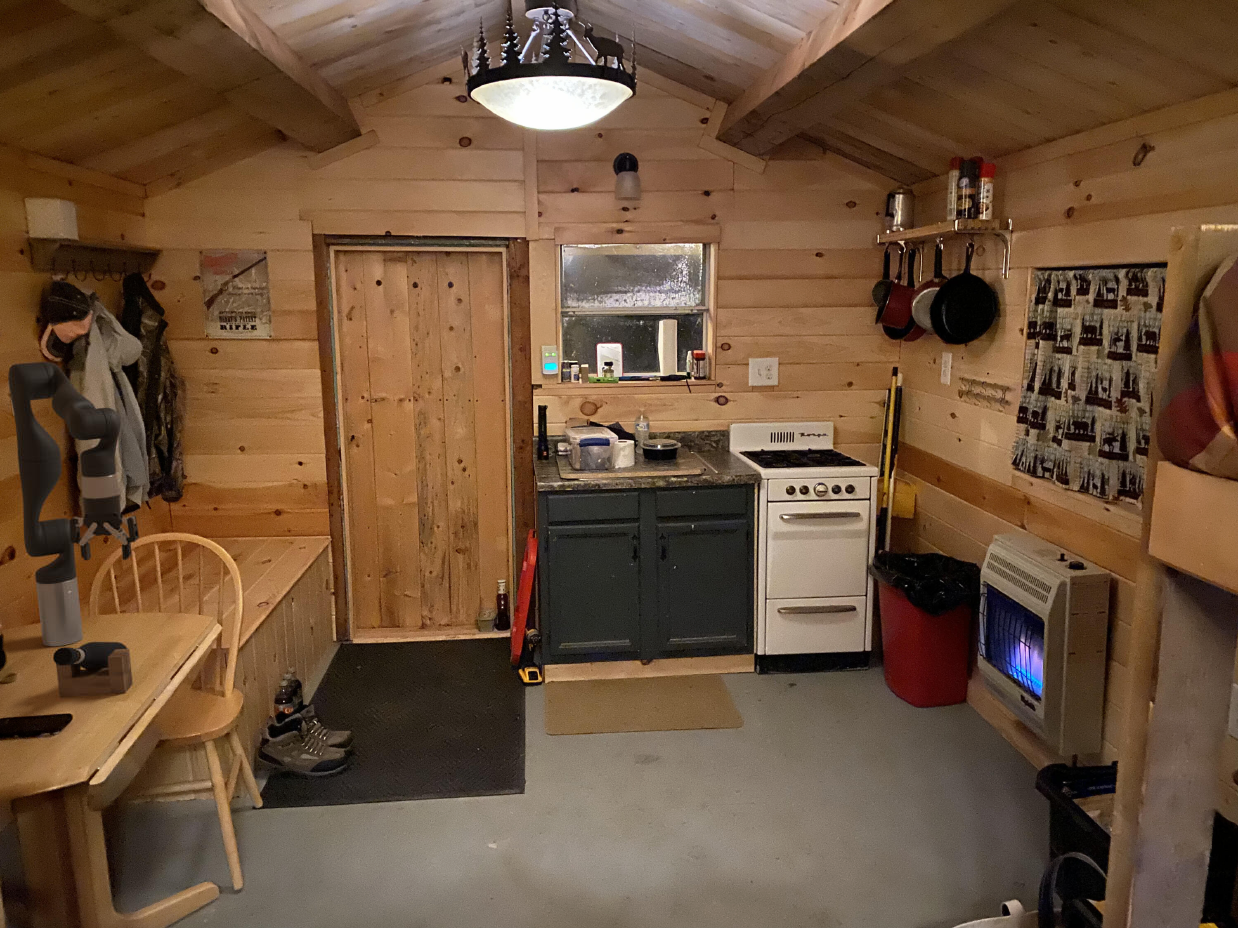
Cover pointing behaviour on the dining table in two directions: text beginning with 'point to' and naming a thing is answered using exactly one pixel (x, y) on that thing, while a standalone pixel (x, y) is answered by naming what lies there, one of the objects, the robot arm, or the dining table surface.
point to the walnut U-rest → (96, 677)
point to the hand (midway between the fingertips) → (107, 559)
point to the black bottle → (87, 655)
